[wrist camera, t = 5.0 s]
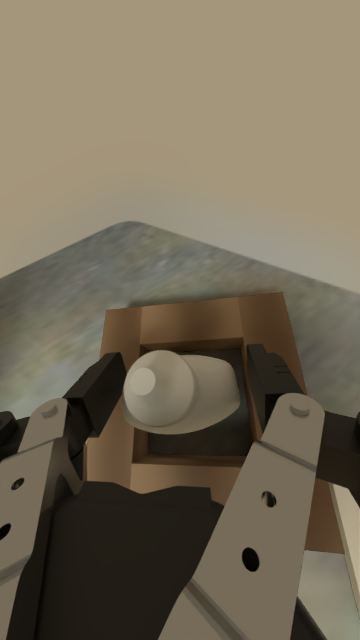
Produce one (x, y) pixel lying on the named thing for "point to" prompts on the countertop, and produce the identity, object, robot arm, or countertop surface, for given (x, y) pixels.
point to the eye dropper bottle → (178, 392)
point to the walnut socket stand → (236, 332)
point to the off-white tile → (349, 533)
